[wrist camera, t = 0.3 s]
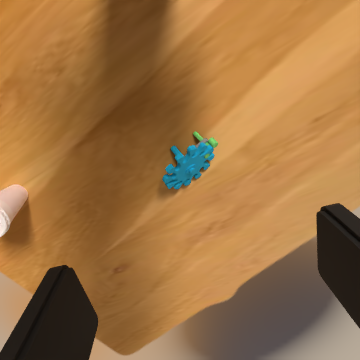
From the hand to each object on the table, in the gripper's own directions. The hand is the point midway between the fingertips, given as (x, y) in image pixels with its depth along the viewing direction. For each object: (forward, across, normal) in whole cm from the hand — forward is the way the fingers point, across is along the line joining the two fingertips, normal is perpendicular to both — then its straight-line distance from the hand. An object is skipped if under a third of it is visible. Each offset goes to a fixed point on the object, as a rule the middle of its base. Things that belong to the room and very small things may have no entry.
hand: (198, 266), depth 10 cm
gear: (+37, -1, +8) cm, 38 cm away
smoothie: (+37, +31, +7) cm, 49 cm away
